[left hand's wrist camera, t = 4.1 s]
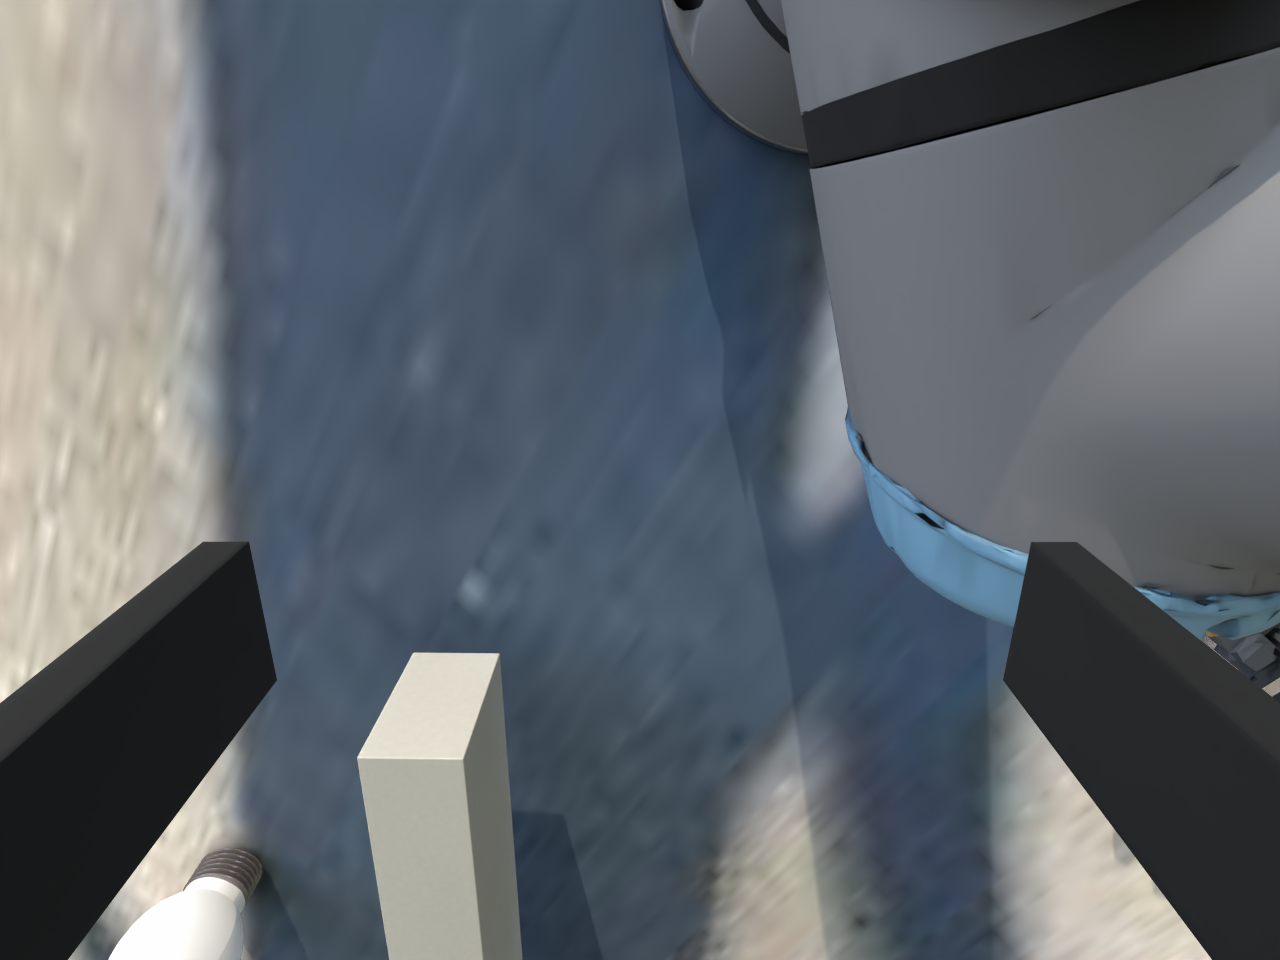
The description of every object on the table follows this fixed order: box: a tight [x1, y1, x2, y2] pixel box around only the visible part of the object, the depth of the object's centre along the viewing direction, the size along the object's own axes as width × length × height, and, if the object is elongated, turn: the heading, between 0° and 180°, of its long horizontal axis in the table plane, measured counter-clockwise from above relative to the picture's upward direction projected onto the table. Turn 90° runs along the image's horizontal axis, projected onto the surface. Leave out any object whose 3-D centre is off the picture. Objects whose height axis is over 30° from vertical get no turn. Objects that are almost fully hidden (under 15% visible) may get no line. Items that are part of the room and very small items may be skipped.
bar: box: [357, 653, 522, 960], centre depth 43 cm, size 35×5×8 cm, turn 0°
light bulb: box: [109, 848, 263, 960], centre depth 45 cm, size 7×7×11 cm
